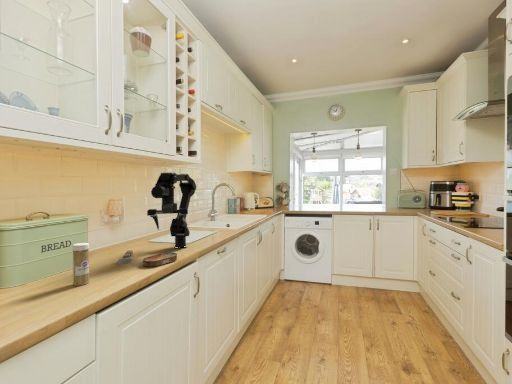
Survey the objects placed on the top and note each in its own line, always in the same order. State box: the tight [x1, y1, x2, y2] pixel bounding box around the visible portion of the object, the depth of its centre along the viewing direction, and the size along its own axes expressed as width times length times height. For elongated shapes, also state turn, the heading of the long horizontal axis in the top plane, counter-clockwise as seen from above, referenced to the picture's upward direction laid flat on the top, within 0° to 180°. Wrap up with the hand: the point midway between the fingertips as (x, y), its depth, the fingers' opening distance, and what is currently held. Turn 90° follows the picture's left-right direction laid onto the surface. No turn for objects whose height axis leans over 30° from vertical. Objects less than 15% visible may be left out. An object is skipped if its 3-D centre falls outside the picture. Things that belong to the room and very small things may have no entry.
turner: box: [116, 250, 133, 265], centre depth 116 cm, size 16×5×2 cm, turn 18°
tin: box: [142, 252, 178, 268], centre depth 109 cm, size 15×3×8 cm
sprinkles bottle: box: [72, 242, 90, 287], centre depth 84 cm, size 5×5×14 cm
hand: (168, 229), depth 125 cm, fingers open, 9 cm apart
